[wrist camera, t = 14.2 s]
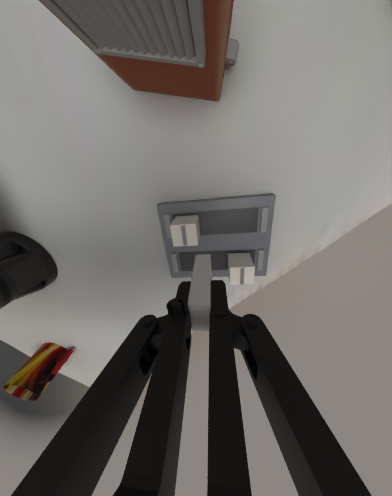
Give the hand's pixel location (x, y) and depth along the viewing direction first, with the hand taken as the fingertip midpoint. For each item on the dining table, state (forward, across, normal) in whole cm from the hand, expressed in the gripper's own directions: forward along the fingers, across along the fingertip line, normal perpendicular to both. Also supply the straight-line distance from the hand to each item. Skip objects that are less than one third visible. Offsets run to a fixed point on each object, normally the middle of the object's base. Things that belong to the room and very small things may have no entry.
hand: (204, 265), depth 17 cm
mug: (+16, -56, -43) cm, 72 cm away
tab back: (+13, +6, -8) cm, 17 cm away
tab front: (+14, -3, 0) cm, 14 cm away
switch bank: (+16, +1, -4) cm, 16 cm away
